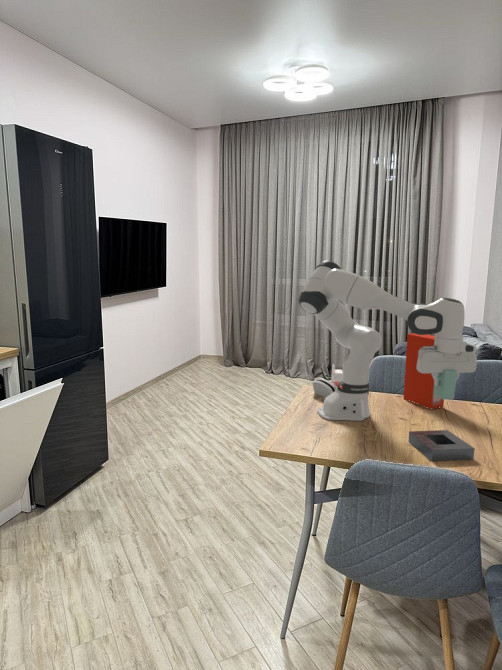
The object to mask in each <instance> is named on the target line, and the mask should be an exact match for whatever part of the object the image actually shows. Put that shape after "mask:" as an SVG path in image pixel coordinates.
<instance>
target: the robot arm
mask: <svg viewBox="0 0 502 670" xmlns="http://www.w3.org/2000/svg"><path fill="white" fill-rule="evenodd" d="M341 302H342V303H344V304H346V305H348V306H351V307H354V308H357V309H360V310H381V311H385V312H387V313H389V314H393V315H395V316H397V317H400V318H402V319H403V320H404V321H406V325H407V327H408V329H409V330H410V331H411V332H412V334H414V333H415V334H418V335H434V336H435V341H434V346H423V347H422V348H420V349H419V352H418V356H419V357H418V361H417V370H418V372H420V373H432V376H433V378H434V385H436V386H440V385H441V384H440V383H441V381H440V380H438V378H437V376H439V373H443V370H456V381H455V386H456V384H457V380H458V379H459V378H460V374H467V373H470V374H471V373H475V371H477V364H478V363H477V362H478V361H477V354H476V352H477V346H476V345H473V344H471V343H468V342H466V341H464V336H463V330H464V327H465V314H466V313H465V306H464V303H462V302H461V301H460V300H458V299H455V298H451V297H440V298H439V299H437V300H436V301H433V302H431V303H413V302H410V301H408V300H406V299H403V298H400V297H398V296H395V295H393V294H391V293H389V292H387V290H384V289H383V288H381V287H380V286H378V285H377V284H376V283H374V282H372V281H371V280H369V279H368V278H366V277H364V276H362V275H359V274H357V273H354V272H352V271H348V270H345V269H342V268H341V267H340V265H339V264H338V263H336V262H334V261H331V260H323V261H320V263H319V264H317V266H316V267H315V269H314V271H313V272H312V273H311V274H310V276H309V278H308V279H307V281H306V284H305V285H304V288H302V291H301V292H300V294H299V297H298V305H299V307H300V309H302V310H303V311H305V312H307V314H311V315H313V316H315V317H316V318H317V319H318V321H320V322H321V323H322V324H323V325H324V326H325V327H326V328H327V329H328V330H329V331H330V332H331V334H332V335H333V336H334V338H335V339H334V340H335V341H336V342H337V343H338V344H339V345H340V346H342V347H344V348H346V349H349V354H348V357H347V359H346V360H345V361H343V363H342V372H343V373H342V381H341V382H340V383H339V382H338V381H335V382H334V384H335V385H336V386H337V390H336V391H335V392H333V393H332V394H330V395H329V396H327V397H326V398H324V400H323V404H322V406H321V407H318V409H317V413H318V415H319V416H320V417H321V418H323V419H326V420H328V421H355V422H357V421H358V422H361V421H364V420H365V419H367V418H370V417H371V412H370V411H371V410H370V406H369V395H370V383H369V377H370V366H371V362H372V359H373V357H374V355H375V354H376V353H377V352H378V351H379V350H380V349H381V347H382V345H383V338H382V335H381V334H380V332H379V331H377V330H375V328H372V327H370V326H366V325H362V324H360V323H357V322H356V321H355V320H353V318H352V317H351V311H350V310H349V309H347V307H345V305H343V304H342V303H341Z"/></svg>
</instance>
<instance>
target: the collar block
mask: <svg viewBox="0 0 502 670" xmlns="http://www.w3.org/2000/svg"><path fill="white" fill-rule="evenodd" d="M408 443H409V444H410V445H412V446H413V448H415V449H416V450H418V451H419V452H420V453H422V455H424V456H425V457H426V458H427V459H428V460H429V461H431V462H445V461H446V462H447V461H448V462H449V461H470V460H471V461H472V460H474V458H475V447H473V446H472V445H470V444H469V443H467V442H466V441H464V440H463V439H462V438H460V437H458V436H457V435H455V434H453V433H452V432H451V431H450V430H448V429H442V430H440V429H439V430H437V429H436V430H413V431H410V430H409V432H408Z"/></svg>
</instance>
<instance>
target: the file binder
mask: <svg viewBox="0 0 502 670" xmlns="http://www.w3.org/2000/svg"><path fill="white" fill-rule="evenodd" d="M406 335H407V336H406V337H407V338H406V340H407V341H406V353H405V355H406V356H405V368H404V384H403V385H404V386H403V388H404V389H403V399H404V400H405V399H407V400H410V401H413V402H415V403H418V404H420V405H423V406H425V407H428V408H430V409H431V408H437V409H440V408H439V407H442V408H444V403H445V401H444V400H445V399H441V398H440V397H438V396H436V395H434V388H435V385H434V378H433V376H432V373H420V372H418V370H417V361H418V357H419V356H418V352H419V349H420V348H422V347H423V346H434V341H435V335H433V334H427V335H418V334H415V333H407V334H406ZM407 400H406V401H407ZM410 401H409V402H410ZM413 402H412V403H413ZM415 403H414V404H415ZM418 404H417V405H418ZM420 405H419V406H420ZM423 406H422V407H423ZM425 407H424V408H425ZM428 408H427V409H428ZM430 409H429V410H430ZM431 410H432V409H431Z"/></svg>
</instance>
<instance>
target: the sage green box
mask: <svg viewBox="0 0 502 670" xmlns="http://www.w3.org/2000/svg"><path fill="white" fill-rule="evenodd" d="M437 378H438V380H440V381H441V383H440V384H441V385H440V386H436V385H435V388H434V395H436V396H438V397H440V398H441V399H444V400H455V392H456V385H455V381H456V382H457V380H456V370H443V373H439V376H437Z"/></svg>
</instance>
